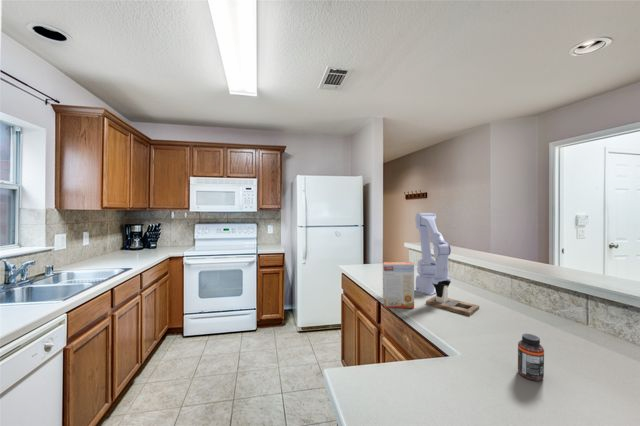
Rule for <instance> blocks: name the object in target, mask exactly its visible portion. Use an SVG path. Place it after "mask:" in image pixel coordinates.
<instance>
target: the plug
mask: <svg viewBox="0 0 640 426" xmlns="http://www.w3.org/2000/svg"><path fill="white" fill-rule="evenodd" d="M448 288H449V286H447V285H445V286H444V289H443V295H442V297H437V294H436V293H435V296H436V302H440V303H444V304H446V303H447V302H448V298H449V296H448V295H449V289H448Z"/></svg>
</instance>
